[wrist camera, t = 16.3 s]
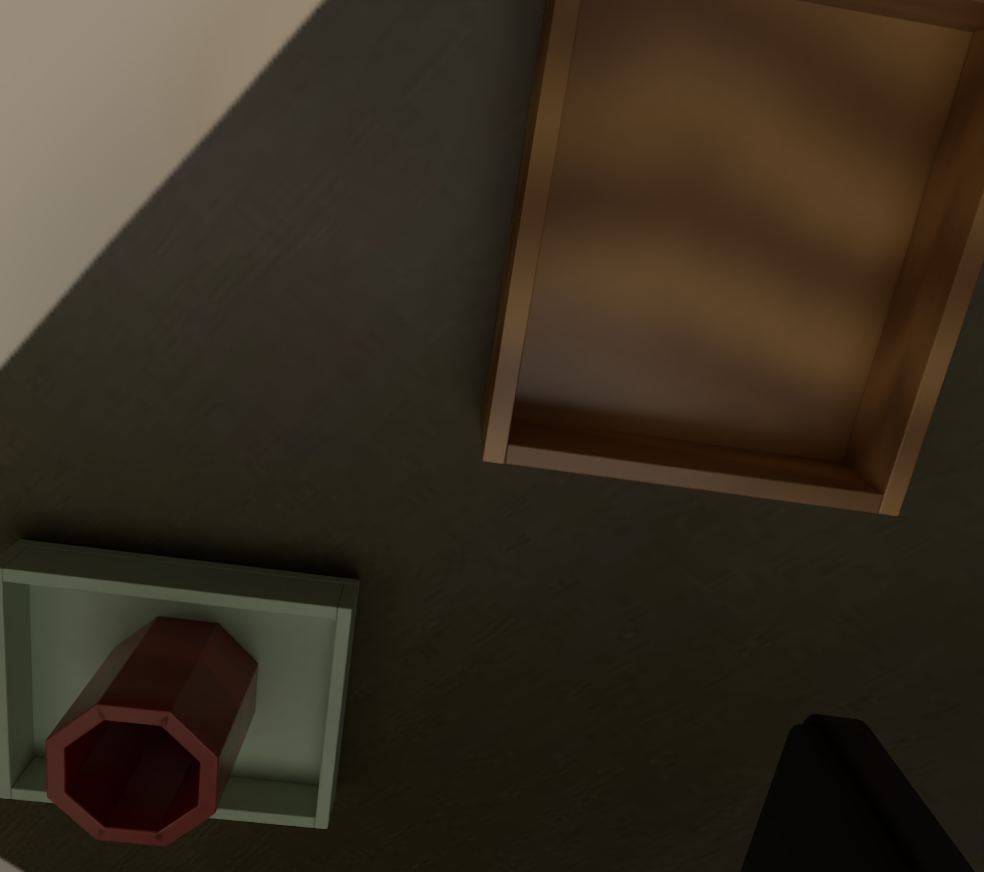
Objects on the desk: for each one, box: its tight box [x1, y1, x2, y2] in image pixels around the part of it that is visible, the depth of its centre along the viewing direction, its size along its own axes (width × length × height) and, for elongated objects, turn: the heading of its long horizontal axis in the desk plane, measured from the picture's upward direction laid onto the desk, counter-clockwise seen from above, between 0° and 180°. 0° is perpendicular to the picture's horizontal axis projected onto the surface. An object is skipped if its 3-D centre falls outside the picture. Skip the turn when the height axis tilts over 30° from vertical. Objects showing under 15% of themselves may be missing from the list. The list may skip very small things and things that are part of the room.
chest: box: [480, 0, 984, 516], centre depth 28 cm, size 18×16×4 cm
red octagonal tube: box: [46, 616, 258, 846], centre depth 32 cm, size 6×6×6 cm
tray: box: [0, 539, 360, 829], centre depth 34 cm, size 14×11×2 cm
